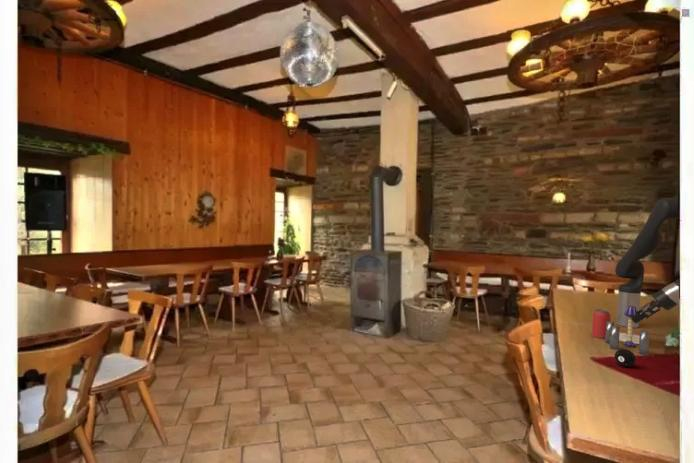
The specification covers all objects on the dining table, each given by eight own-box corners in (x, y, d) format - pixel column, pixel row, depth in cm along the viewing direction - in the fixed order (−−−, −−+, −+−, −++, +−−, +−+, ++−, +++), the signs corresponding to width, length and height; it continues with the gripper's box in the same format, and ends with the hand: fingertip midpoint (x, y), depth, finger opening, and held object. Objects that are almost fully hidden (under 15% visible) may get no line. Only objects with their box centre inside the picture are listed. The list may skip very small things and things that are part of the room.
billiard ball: (638, 367, 138) (639, 350, 138) (630, 370, 135) (631, 353, 134) (619, 361, 143) (620, 345, 143) (611, 364, 140) (612, 348, 140)
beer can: (612, 340, 171) (613, 312, 171) (595, 338, 173) (597, 311, 172) (605, 335, 178) (606, 309, 177) (589, 334, 179) (590, 308, 179)
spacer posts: (606, 341, 169) (607, 320, 169) (652, 351, 156) (654, 329, 156) (597, 345, 162) (598, 323, 162) (644, 356, 150) (646, 333, 149)
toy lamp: (619, 343, 166) (622, 304, 165) (630, 344, 166) (632, 305, 166) (628, 347, 161) (631, 307, 161) (639, 347, 161) (641, 307, 161)
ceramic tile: (646, 339, 175) (646, 336, 175) (646, 345, 165) (647, 343, 165) (613, 333, 182) (613, 331, 182) (612, 339, 172) (612, 337, 172)
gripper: (661, 286, 163) (626, 309, 170) (663, 290, 152) (625, 315, 159) (677, 301, 160) (640, 323, 167) (680, 306, 149) (641, 330, 156)
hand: (633, 319), depth 163 cm, fingers open, 8 cm apart
